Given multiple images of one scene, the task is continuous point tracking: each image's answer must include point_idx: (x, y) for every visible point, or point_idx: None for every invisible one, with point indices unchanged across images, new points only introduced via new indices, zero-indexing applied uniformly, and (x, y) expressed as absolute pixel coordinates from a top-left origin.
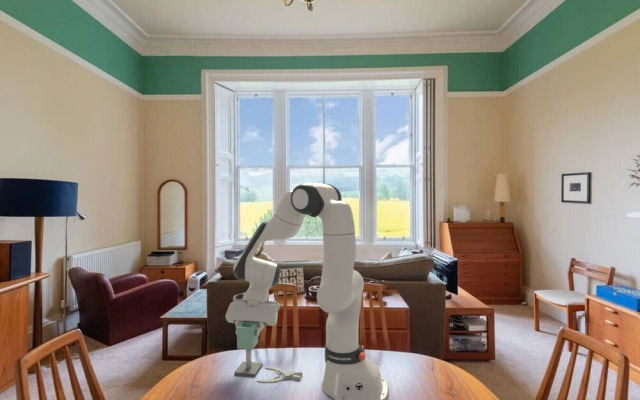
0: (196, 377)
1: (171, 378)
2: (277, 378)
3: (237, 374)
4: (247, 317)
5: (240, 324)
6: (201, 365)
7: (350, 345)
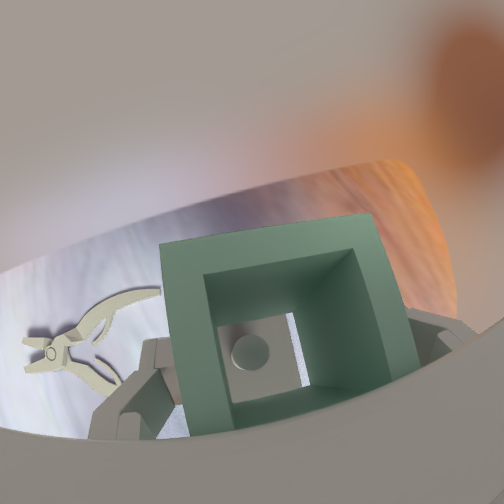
0: (388, 242)
1: (433, 217)
2: (93, 326)
3: None
4: (397, 419)
5: (392, 298)
6: (429, 308)
7: None
